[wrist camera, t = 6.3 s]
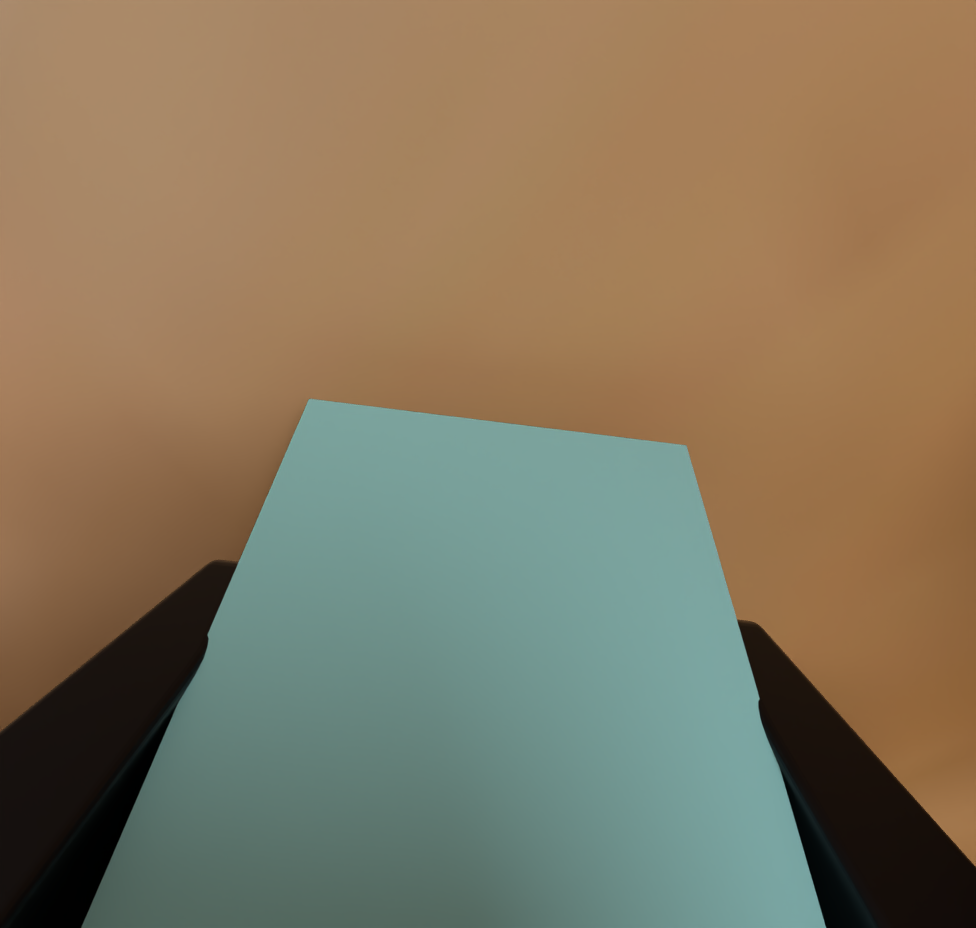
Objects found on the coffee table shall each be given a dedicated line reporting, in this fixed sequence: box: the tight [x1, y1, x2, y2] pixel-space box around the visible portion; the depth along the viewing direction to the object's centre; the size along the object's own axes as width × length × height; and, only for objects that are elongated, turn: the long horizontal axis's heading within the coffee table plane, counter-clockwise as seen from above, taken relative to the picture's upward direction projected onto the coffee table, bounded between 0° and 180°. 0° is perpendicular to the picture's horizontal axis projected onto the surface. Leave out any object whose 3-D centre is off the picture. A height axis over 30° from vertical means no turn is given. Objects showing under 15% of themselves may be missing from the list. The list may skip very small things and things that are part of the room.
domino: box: [81, 399, 826, 928], centre depth 7 cm, size 2×5×8 cm, turn 83°
